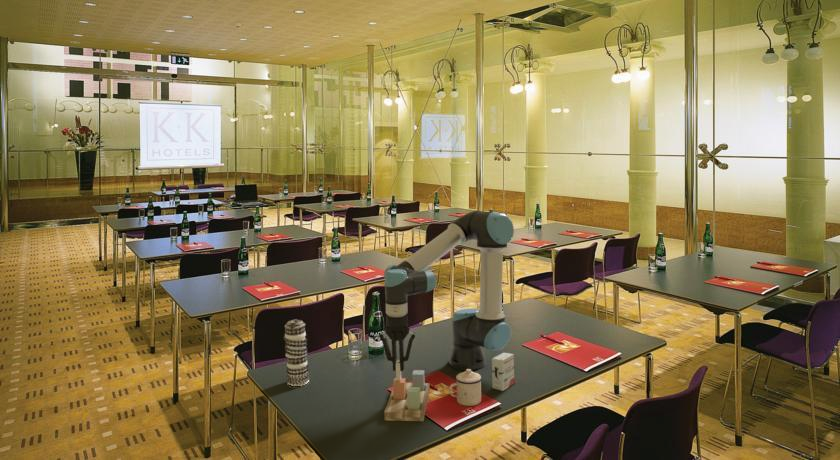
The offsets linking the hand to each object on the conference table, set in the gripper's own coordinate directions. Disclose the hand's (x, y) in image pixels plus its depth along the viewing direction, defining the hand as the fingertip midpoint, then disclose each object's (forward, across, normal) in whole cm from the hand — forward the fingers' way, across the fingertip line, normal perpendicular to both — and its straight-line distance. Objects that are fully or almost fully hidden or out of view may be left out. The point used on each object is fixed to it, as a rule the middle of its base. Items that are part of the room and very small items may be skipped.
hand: (398, 379), depth 197 cm
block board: (+10, +3, 0) cm, 10 cm away
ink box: (+10, +37, +18) cm, 42 cm away
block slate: (+7, +6, +8) cm, 12 cm away
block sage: (+7, +6, -7) cm, 12 cm away
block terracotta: (+7, 0, 0) cm, 7 cm away
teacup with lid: (+10, +23, +4) cm, 25 cm away
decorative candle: (+10, -43, +18) cm, 47 cm away
